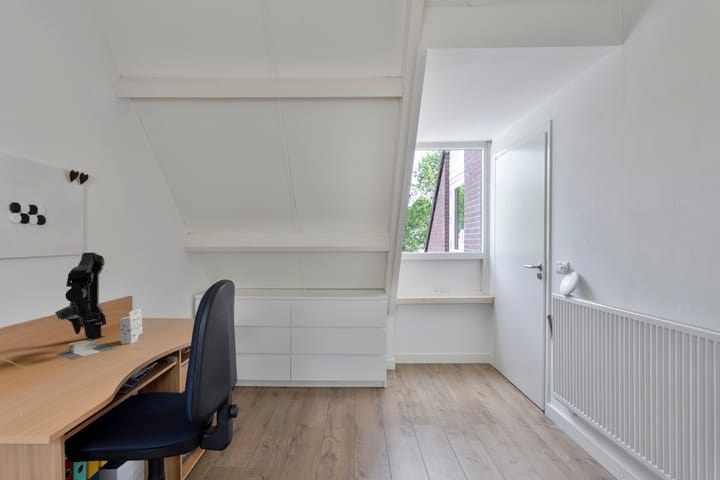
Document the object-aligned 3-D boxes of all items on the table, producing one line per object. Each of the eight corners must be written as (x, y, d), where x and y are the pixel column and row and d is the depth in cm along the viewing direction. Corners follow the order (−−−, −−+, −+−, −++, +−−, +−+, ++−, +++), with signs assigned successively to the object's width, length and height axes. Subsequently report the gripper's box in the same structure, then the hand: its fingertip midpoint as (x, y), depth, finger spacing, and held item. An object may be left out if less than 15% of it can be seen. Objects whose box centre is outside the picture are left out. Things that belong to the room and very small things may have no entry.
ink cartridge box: (132, 339, 169) (131, 308, 169) (143, 339, 169) (142, 308, 169) (120, 345, 160) (119, 312, 160) (131, 344, 160) (130, 311, 160)
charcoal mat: (55, 355, 148) (55, 353, 148) (100, 344, 161) (100, 343, 161) (72, 360, 140) (72, 359, 140) (117, 349, 154) (117, 347, 154)
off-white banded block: (68, 351, 150) (68, 343, 150) (90, 346, 157) (90, 338, 157) (74, 353, 148) (73, 345, 148) (96, 347, 155) (96, 340, 155)
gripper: (48, 300, 151) (49, 337, 151) (67, 303, 141) (69, 343, 141) (79, 296, 160) (80, 331, 160) (100, 298, 150) (101, 336, 151)
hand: (82, 335), depth 153 cm, fingers open, 9 cm apart
